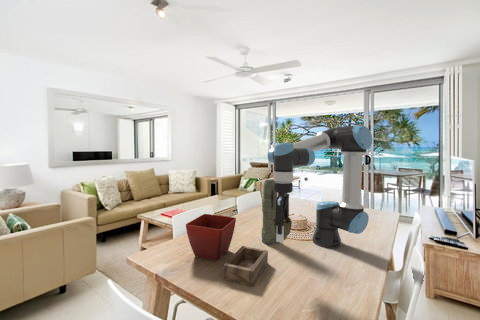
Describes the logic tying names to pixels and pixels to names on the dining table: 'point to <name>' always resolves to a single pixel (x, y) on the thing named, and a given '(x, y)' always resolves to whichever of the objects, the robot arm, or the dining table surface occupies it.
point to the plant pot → (210, 235)
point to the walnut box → (246, 265)
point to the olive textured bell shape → (285, 227)
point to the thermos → (269, 212)
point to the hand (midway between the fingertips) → (282, 238)
